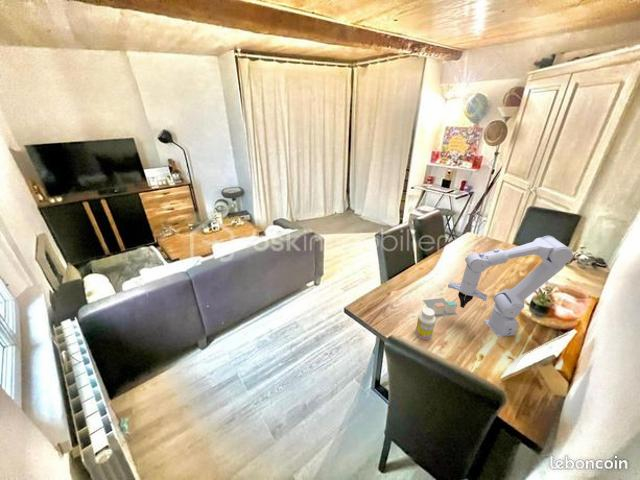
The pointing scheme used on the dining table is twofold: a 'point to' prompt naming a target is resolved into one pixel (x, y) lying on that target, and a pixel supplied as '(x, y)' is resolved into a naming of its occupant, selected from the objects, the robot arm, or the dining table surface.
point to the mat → (431, 302)
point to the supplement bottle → (426, 323)
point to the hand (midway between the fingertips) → (462, 306)
